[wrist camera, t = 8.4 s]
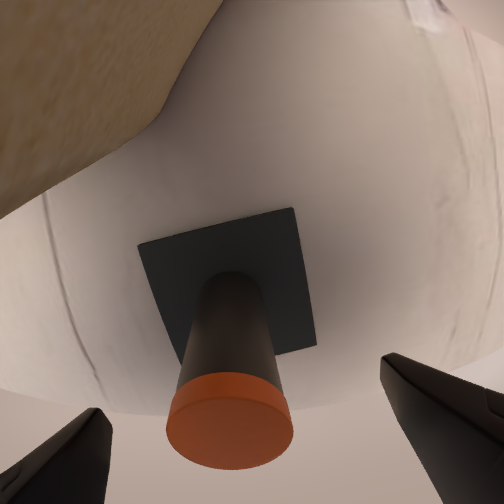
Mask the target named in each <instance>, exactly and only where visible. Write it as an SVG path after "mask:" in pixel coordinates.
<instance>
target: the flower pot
mask: <svg viewBox="0 0 504 504" xmlns="http://www.w3.org/2000/svg"><path fill="white" fill-rule="evenodd" d="M223 1H224V0H0V219H2V218H3V217H5V216H6V215H8V214H9V213H11V212H12V211H14V210H16V209H17V208H19V207H21V206H22V205H24V204H25V203H27V202H28V201H30V200H32V199H33V198H35V197H36V196H38V195H40V194H41V193H43V192H45V191H46V190H48V189H50V188H51V187H53V186H55V185H57V184H58V183H60V182H62V181H64V180H65V179H67V178H69V177H70V176H72V175H74V174H75V173H77V172H79V171H81V170H82V169H84V168H86V167H88V166H89V165H91V164H92V163H94V162H96V161H97V160H99V159H100V158H102V157H104V156H105V155H107V154H109V153H110V152H112V151H114V150H116V149H117V148H119V147H120V146H122V145H123V144H124V143H126V142H127V141H129V140H130V139H132V138H133V137H135V136H136V135H137V134H139V133H140V132H141V131H142V130H144V129H145V128H146V127H147V126H148V125H149V124H150V123H151V122H152V121H153V120H154V119H155V118H156V116H157V115H158V114H159V112H160V111H161V109H162V107H163V105H164V103H165V101H166V99H167V97H168V95H169V93H170V91H171V89H172V87H173V85H174V83H175V81H176V79H177V77H178V75H179V73H180V71H181V69H182V68H183V66H184V64H185V62H186V60H187V58H188V57H189V55H190V53H191V51H192V50H193V48H194V46H195V44H196V43H197V41H198V39H199V38H200V36H201V34H202V33H203V31H204V30H205V28H206V26H207V25H208V23H209V22H210V20H211V18H212V17H213V15H214V14H215V12H216V11H217V9H218V8H219V6H220V5H221V3H222V2H223Z"/></svg>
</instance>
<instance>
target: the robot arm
mask: <svg viewBox="0 0 504 504" xmlns="http://www.w3.org/2000/svg"><path fill="white" fill-rule="evenodd" d="M380 380H381V383H382V386H383V388H384V390H385V393H386V395H387V397H388V400H389V402H390V404H391V407H392V409H393V411H394V414H395V416H396V418H397V421H398V422H399V424H400V426H401V428H402V430H403V431H404V433H405V435H406V437H407V438H408V440H409V442H410V443H411V445H412V447H413V449H414V451H415V452H416V454H417V456H418V457H419V459H420V461H421V463H422V465H423V467H424V468H425V470H426V472H427V474H428V476H429V478H430V479H431V481H432V483H433V485H434V487H435V489H436V490H437V492H438V494H439V496H440V498H441V500H442V502H443V504H504V394H502V393H499V392H496V391H493V390H490V389H487V388H486V389H485V388H484V387H482V386H479V385H476V384H473V383H471V382H468V381H466V380H463V379H460V378H458V377H455V376H452V375H450V374H447V373H445V372H442V371H439V370H437V369H434V368H432V367H429V366H427V365H424V364H422V363H419V362H417V361H414V360H412V359H409V358H407V357H404V356H402V355H399V354H397V353H390V354H387V355H384V356H382V357H381V361H380ZM112 433H113V428H112V425H111V423H110V421H109V420H108V418H107V417H106V416H105V414H104V413H103V411H102V410H101V409H100V408H88V409H87V410H85V411H84V412H83V413H81V414H80V415H79V416H78V417H76V418H75V419H74V420H73V421H71V422H70V423H69V424H67V425H66V426H65V427H63V428H62V429H61V430H60V431H58V432H57V433H56V434H55V435H53V436H52V437H50V438H49V439H48V440H46V441H45V442H44V443H43V444H41V445H40V446H39V447H37V448H36V449H35V450H33V451H32V452H31V453H29V454H28V455H27V456H25V457H24V458H23V459H22V460H20V461H19V462H17V463H16V464H15V465H13V466H12V467H10V468H9V469H7V470H6V471H4V472H3V473H1V474H0V504H104V500H105V493H106V487H107V481H108V475H109V468H110V457H111V445H112Z"/></svg>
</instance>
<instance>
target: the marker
mask: <svg viewBox="0 0 504 504" xmlns="http://www.w3.org/2000/svg"><path fill="white" fill-rule="evenodd" d="M166 433H167V437H168V440H169V442H170V444H171V445H172V446H173V448H174V449H175V450H176V451H177V452H179V454H181V455H182V456H184V457H185V458H187V459H188V460H190V461H193V462H195V463H197V464H200V465H203V466H206V467H210V468H215V469H223V470H239V469H247V468H253V467H256V466H260V465H263V464H265V463H268V462H270V461H272V460H274V459H275V458H277V457H278V456H280V455H281V454H282V453H283V452H284V451H285V450H286V449H287V448H288V446H289V445H290V443H291V441H292V438H293V425H292V421H291V417H290V412H289V408H288V404H287V401H286V399H285V397H284V394H283V390H282V385H281V381H280V377H279V372H278V368H277V363H276V359H275V354H274V350H273V346H272V341H271V337H270V332H269V328H268V323H267V319H266V315H265V310H264V306H263V301H262V297H261V293H260V290H259V288H258V286H257V285H256V283H255V282H254V281H253V280H252V279H251V278H249V277H248V276H246V275H244V274H241V273H237V272H223V273H219V274H217V275H215V276H213V277H211V278H210V279H209V280H208V281H207V282H206V283H205V284H204V286H203V288H202V290H201V292H200V296H199V300H198V304H197V307H196V311H195V315H194V319H193V323H192V327H191V331H190V335H189V339H188V343H187V347H186V351H185V355H184V359H183V363H182V367H181V372H180V376H179V380H178V385H177V389H176V393H175V395H174V397H173V400H172V403H171V407H170V411H169V416H168V420H167V425H166Z"/></svg>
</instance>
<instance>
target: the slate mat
mask: <svg viewBox="0 0 504 504" xmlns="http://www.w3.org/2000/svg"><path fill="white" fill-rule="evenodd" d="M137 247H138V250H139V254H140V257H141V260H142V263H143V266H144V269H145V272H146V275H147V278H148V281H149V284H150V287H151V290H152V293H153V295H154V298H155V301H156V304H157V306H158V309H159V312H160V314H161V317H162V320H163V322H164V325H165V327H166V330H167V332H168V335H169V337H170V340H171V342H172V345H173V347H174V350H175V352H176V354H177V357H178V359H179V361H180V364H181V366H182V363H183V359H184V355H185V351H186V347H187V343H188V339H189V335H190V331H191V327H192V323H193V319H194V315H195V311H196V307H197V304H198V300H199V296H200V292H201V290H202V288H203V286H204V284H205V283H206V282H207V281H208V280H209V279H210V278H211V277H213V276H215V275H217V274H219V273H223V272H237V273H241V274H244V275H246V276H248V277H249V278H251V279H252V280H253V281H254V282H255V283H256V285H257V286H258V288H259V290H260V293H261V297H262V301H263V306H264V310H265V315H266V319H267V323H268V328H269V332H270V337H271V341H272V346H273V350H274V354H275V356H276V355H280V354H284V353H288V352H292V351H296V350H300V349H304V348H308V347H312V346H315V345H317V342H316V335H315V328H314V321H313V315H312V308H311V302H310V296H309V290H308V284H307V278H306V272H305V267H304V261H303V255H302V250H301V245H300V239H299V234H298V229H297V224H296V218H295V213H294V209H293V208H292V207H290V208H285V209H281V210H276V211H272V212H268V213H263V214H259V215H254V216H250V217H246V218H242V219H237V220H233V221H229V222H225V223H221V224H217V225H213V226H208V227H204V228H200V229H196V230H192V231H188V232H184V233H181V234H177V235H173V236H169V237H165V238H161V239H157V240H154V241H150V242H146V243H142V244H139V245H138V246H137Z"/></svg>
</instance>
